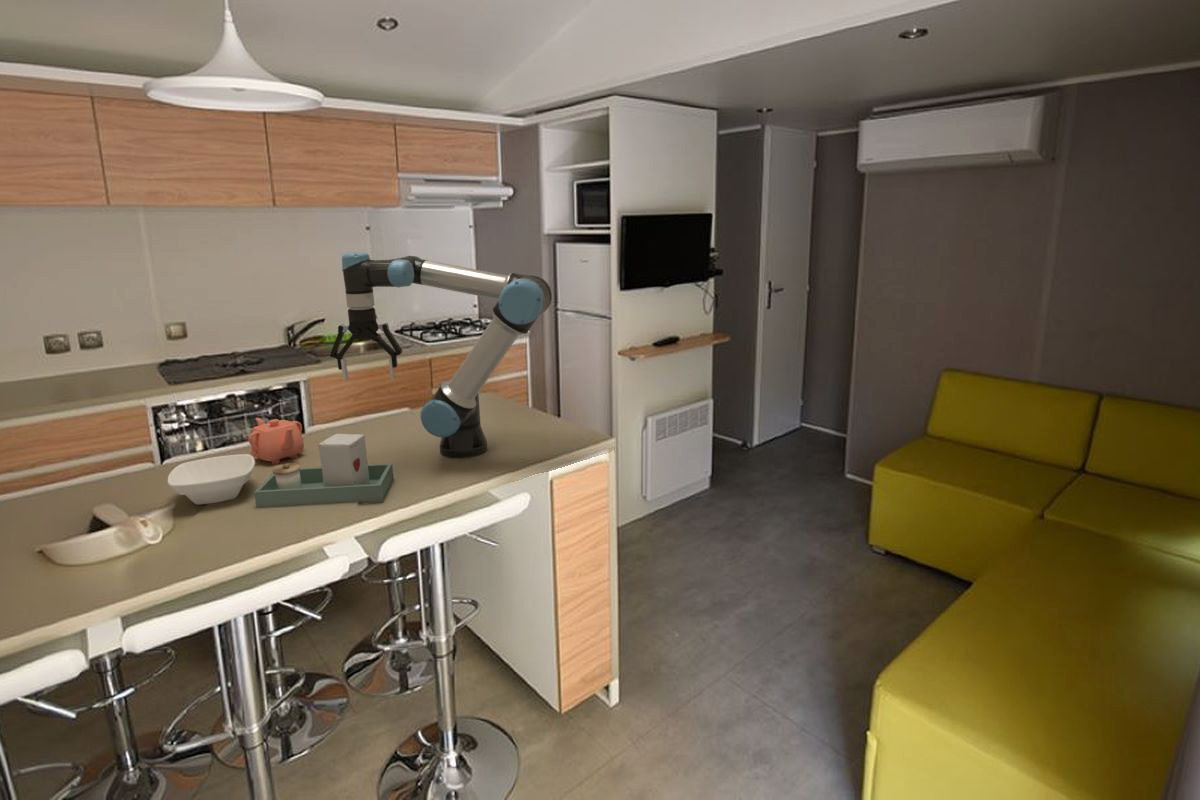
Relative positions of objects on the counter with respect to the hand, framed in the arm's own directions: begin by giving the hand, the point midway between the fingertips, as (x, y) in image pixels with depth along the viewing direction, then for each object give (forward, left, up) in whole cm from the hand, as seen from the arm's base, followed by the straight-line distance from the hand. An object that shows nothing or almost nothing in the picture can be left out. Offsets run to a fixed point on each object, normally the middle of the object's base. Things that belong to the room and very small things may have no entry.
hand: (369, 379), depth 199 cm
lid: (+19, +22, -19) cm, 35 cm away
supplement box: (+4, +22, -26) cm, 34 cm away
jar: (+19, +22, -26) cm, 39 cm away
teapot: (+33, -10, -27) cm, 44 cm away
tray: (+9, +22, -27) cm, 36 cm away
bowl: (+39, +20, -27) cm, 51 cm away
